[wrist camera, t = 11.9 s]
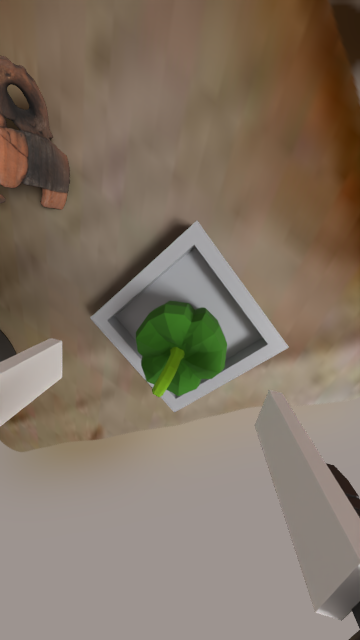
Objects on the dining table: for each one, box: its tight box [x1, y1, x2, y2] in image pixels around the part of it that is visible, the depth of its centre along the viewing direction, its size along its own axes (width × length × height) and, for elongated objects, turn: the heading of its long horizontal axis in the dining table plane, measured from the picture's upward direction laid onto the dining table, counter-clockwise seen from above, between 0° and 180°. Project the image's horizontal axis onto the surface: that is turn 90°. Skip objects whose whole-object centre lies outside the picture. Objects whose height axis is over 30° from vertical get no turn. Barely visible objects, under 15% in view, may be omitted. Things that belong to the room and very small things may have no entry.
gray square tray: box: [91, 221, 289, 412], centre depth 22 cm, size 16×16×3 cm
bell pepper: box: [136, 301, 227, 397], centre depth 18 cm, size 8×8×10 cm
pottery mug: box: [0, 56, 70, 209], centre depth 18 cm, size 12×9×8 cm
